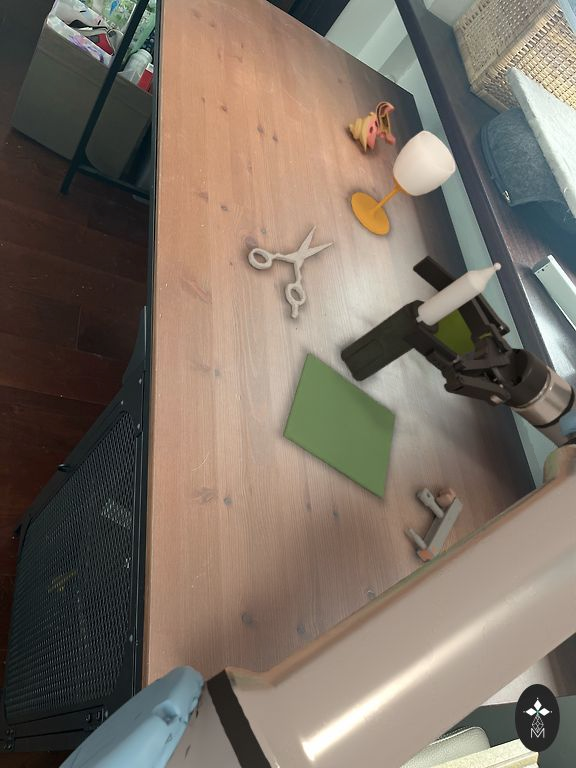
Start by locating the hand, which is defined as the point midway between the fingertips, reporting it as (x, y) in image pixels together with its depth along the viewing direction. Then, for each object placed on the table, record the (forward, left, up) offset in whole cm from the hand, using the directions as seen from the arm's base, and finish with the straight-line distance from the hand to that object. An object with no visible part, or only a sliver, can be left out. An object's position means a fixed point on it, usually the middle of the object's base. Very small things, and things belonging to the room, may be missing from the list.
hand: (415, 294), depth 77 cm
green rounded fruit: (+14, -16, -15) cm, 26 cm away
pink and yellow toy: (+55, +6, -15) cm, 57 cm away
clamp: (-19, -20, -15) cm, 32 cm away
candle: (0, -3, -15) cm, 15 cm away
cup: (+35, +1, -15) cm, 38 cm away
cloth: (-11, -3, -15) cm, 19 cm away
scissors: (+11, +11, -15) cm, 21 cm away
